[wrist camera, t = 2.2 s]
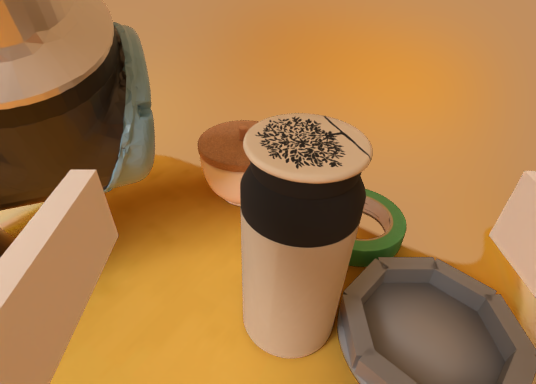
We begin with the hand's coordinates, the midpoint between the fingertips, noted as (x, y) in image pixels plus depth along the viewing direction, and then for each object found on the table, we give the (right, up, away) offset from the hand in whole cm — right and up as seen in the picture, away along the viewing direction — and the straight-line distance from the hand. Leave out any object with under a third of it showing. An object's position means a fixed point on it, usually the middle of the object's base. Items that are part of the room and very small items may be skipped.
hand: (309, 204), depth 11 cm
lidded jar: (-4, 0, +34) cm, 35 cm away
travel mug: (0, -11, +20) cm, 23 cm away
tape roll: (+8, -4, +29) cm, 31 cm away
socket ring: (+12, -12, +18) cm, 25 cm away
